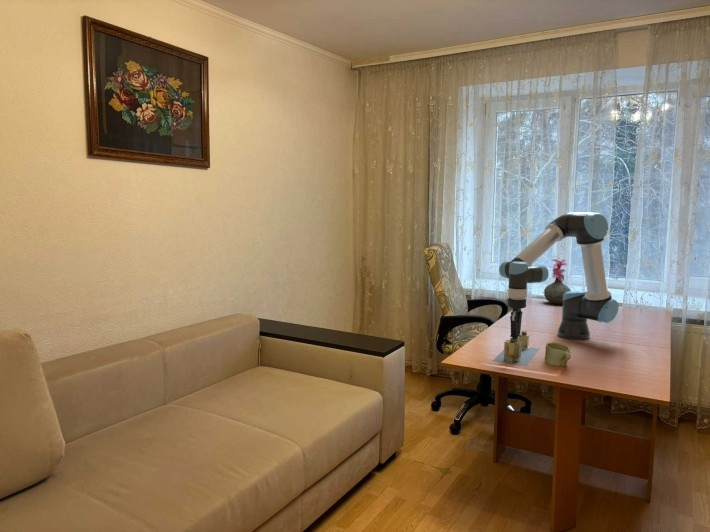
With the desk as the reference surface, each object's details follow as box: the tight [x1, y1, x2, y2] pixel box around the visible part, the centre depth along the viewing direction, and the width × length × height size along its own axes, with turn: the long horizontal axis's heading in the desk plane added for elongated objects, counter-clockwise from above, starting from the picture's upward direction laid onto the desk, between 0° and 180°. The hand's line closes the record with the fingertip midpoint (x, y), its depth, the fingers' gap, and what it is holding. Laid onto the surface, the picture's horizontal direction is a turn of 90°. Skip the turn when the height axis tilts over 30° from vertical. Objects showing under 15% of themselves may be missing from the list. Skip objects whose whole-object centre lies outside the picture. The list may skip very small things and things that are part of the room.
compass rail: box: [505, 330, 530, 365], centre depth 231 cm, size 4×29×7 cm, turn 151°
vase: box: [543, 258, 572, 306], centre depth 349 cm, size 17×18×30 cm
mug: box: [544, 342, 572, 368], centre depth 218 cm, size 12×10×10 cm
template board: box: [492, 346, 541, 367], centre depth 232 cm, size 14×31×1 cm, turn 150°
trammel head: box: [503, 337, 521, 362], centre depth 223 cm, size 6×4×9 cm
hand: (514, 351), depth 227 cm, fingers closed
